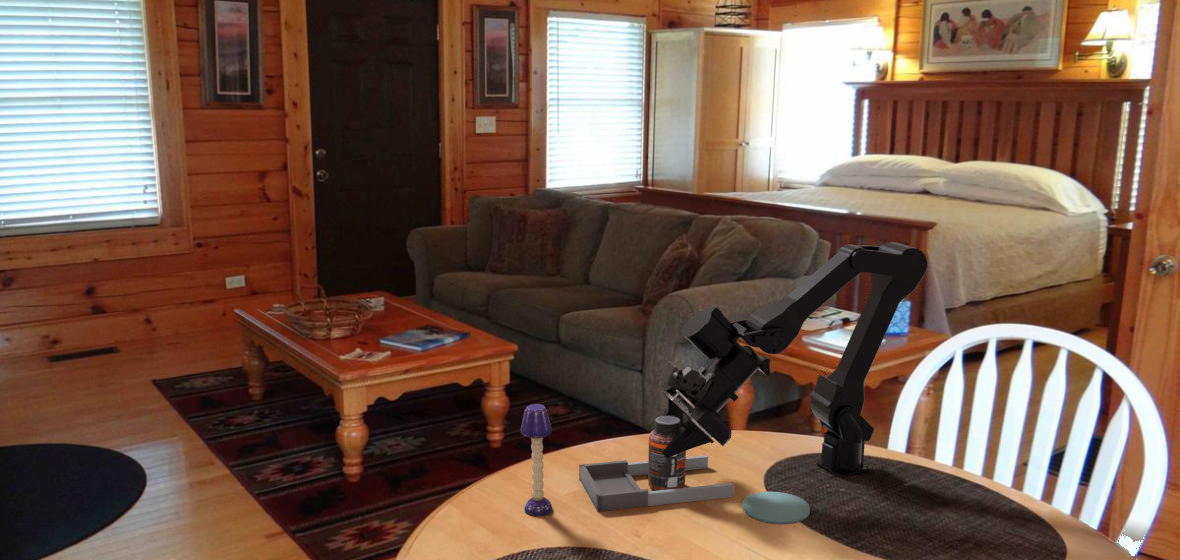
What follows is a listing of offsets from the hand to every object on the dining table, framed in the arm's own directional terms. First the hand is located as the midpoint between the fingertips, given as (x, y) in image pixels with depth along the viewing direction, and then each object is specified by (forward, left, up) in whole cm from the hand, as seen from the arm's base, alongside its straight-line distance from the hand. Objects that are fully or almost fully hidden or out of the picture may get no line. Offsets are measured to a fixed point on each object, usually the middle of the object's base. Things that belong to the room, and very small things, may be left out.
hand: (658, 448), depth 151 cm
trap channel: (+1, 0, -7) cm, 7 cm away
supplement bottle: (-1, 0, -7) cm, 7 cm away
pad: (-11, +15, -7) cm, 20 cm away
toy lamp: (+21, -2, -7) cm, 22 cm away
